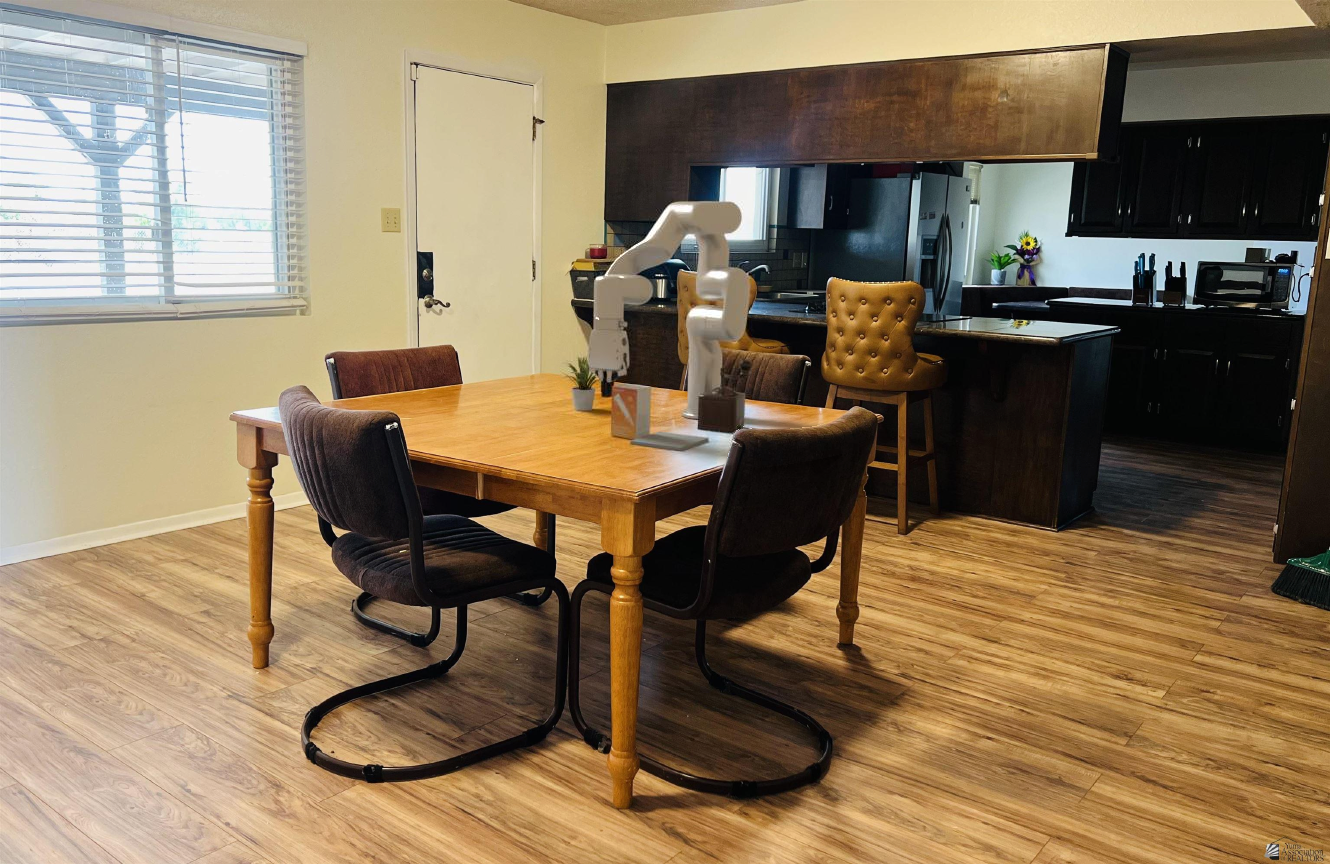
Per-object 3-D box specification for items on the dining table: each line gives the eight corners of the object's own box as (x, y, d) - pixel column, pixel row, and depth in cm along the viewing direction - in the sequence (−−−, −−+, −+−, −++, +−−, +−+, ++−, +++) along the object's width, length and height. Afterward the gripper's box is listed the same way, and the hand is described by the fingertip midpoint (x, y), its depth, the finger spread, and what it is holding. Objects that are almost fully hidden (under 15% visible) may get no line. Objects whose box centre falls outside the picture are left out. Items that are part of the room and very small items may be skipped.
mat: (659, 434, 264) (659, 431, 264) (708, 441, 258) (708, 437, 258) (630, 444, 251) (630, 440, 251) (680, 451, 245) (680, 447, 245)
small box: (610, 436, 261) (611, 385, 258) (624, 432, 266) (625, 383, 263) (636, 440, 256) (637, 389, 254) (650, 436, 261) (651, 386, 259)
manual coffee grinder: (735, 433, 269) (738, 365, 265) (696, 429, 273) (698, 362, 269) (752, 424, 283) (755, 359, 280) (714, 420, 287) (717, 356, 284)
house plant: (549, 406, 303) (549, 351, 300) (593, 403, 309) (594, 350, 306) (565, 414, 290) (566, 356, 287) (610, 411, 296) (611, 355, 293)
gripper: (641, 326, 259) (639, 397, 262) (591, 322, 266) (590, 392, 269) (626, 328, 252) (624, 401, 256) (575, 324, 259) (574, 395, 263)
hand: (607, 396), depth 263 cm, fingers closed
